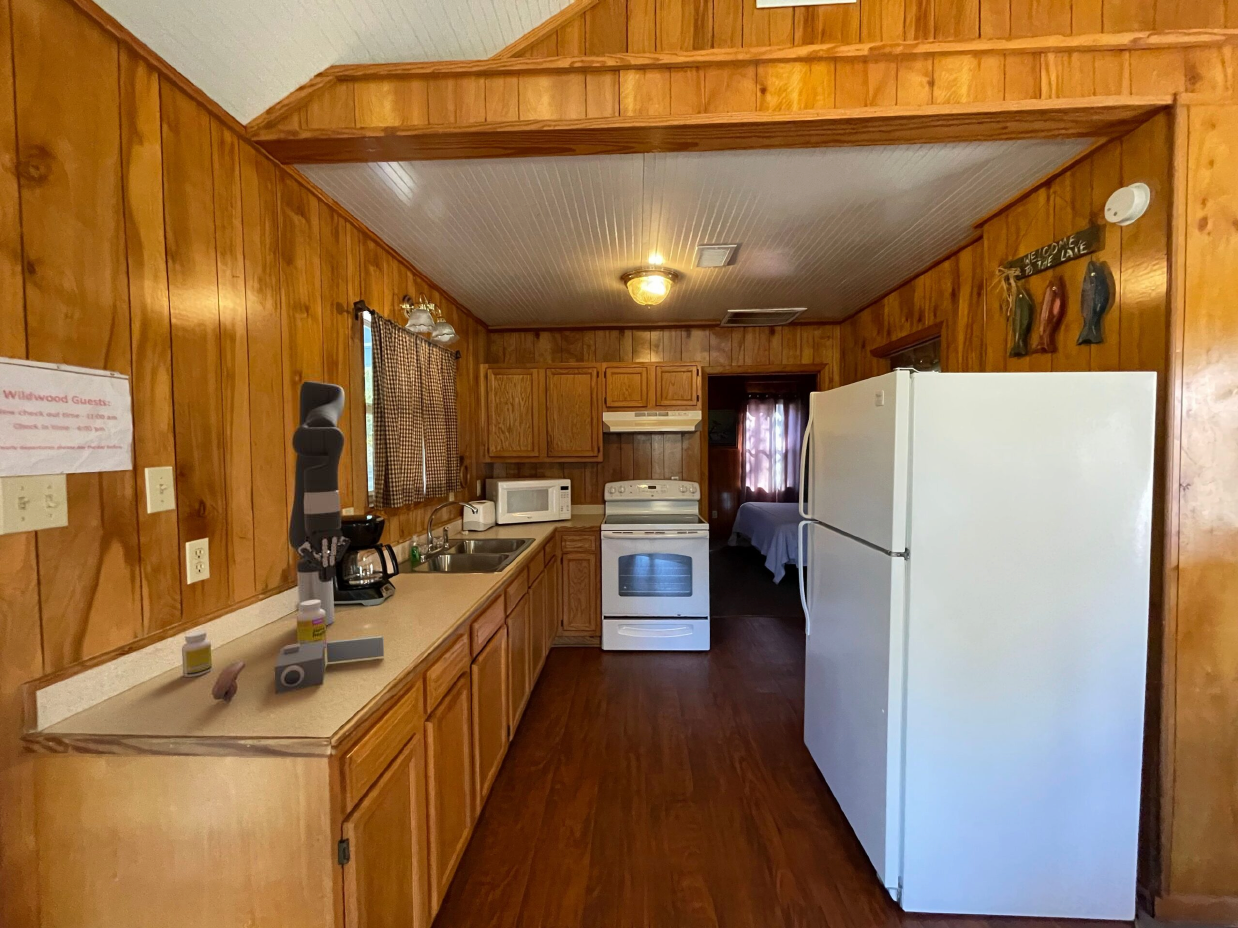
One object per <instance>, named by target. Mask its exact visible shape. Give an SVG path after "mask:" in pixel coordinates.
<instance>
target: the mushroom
mask: <svg viewBox="0 0 1238 928" xmlns="http://www.w3.org/2000/svg"><path fill="white" fill-rule="evenodd" d="M245 667H246V664H245V662H243V661H241V660H240V661H234V662H232V663H230V664H228V665H227V666H226V667H225V668H224V669H223V670H222V671H221V672H220V674H219V675H218V677H217V679H216V681H215V684H214V685H213V687H212V692H211V695H212V697H213V699H215V701H216V700H217V701H220V700H222V701H224V702H225V703H227V704H228V703H230V702H231V701H232V699H233V698H234V696H235V695H236V693H237V690H238V688H239V687H238V682H236V680H237V677H238V676H239V675H240V673H241V672H242V671H243V669H245Z"/></svg>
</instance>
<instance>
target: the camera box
mask: <svg viewBox="0 0 1238 928" xmlns="http://www.w3.org/2000/svg"><path fill="white" fill-rule="evenodd" d="M325 647H326V646H325V645H324V641H318V642H313V643H307V644H301V645H300V643H298V642H297V643H293V644H289V645H285V646H284V647H281V649H280V651H279V654H278V656H277V660H276V662H275V665H274V674H275V675H274V678H275V694H279V693H284V692H289V691H293V690H298V689H303V688H307V687H312V686H317V685H321V684H324V677H325V672H326V671H325V670H326V651H325V650H326V648H325Z"/></svg>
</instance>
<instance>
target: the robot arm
mask: <svg viewBox="0 0 1238 928" xmlns="http://www.w3.org/2000/svg"><path fill="white" fill-rule="evenodd" d="M299 390H300V391H299V405H298V407H299V410H298V411H299V415H298V416H299V417H298V420H299V421H298V422H299V423H298V425H299V426H298V427H297V428H296V430H295V431H294V433H293V436H292V440H291V441H292V443H291V445H292V448H293V451H295V453H296V461H295V475H294V477H295V478H294V491H293V493H294V496H293V502H292V509H291V516H290V520H289V521H290V522H289V528H288V540H289V544H290V546H291V548H292V549H294V550H295V552H296V553H297V554H298V555H299V556H300V557H301V559H300V560H299V561H297V564H296V573H297V576H296V577H297V593H298V595H297V596H298V614H299V613H300V612H302V610H301V603H302V602H305V601H308V600H320V601H321V605H320V609H323V610H324V611H325V618H326V626H328V625H331V624H333V623H334V622H335V604H334V603H335V601H334V584H333V579H334V565H335V563H337V562H340V561H341V559H342V558H343V556H344V555H345V553H346V552H347V549H348V547H349V546H350V544H351V542H352V541H351V539H350V538H346V537H344V536H343V533H342V531H341V527H342V514H341V513H342V511H341V498H340V493H339V480H338V478H339V476H338V475H339V465H340V460H341V456H342V453H343V449H344V445H345V436H344V434H343V432H342V431H341V429H339V428H337V427H338V421H339V419H340V417H341V416H342V414H343V411H344V406H345V399H346V398H345V390H344V389H343V387H341V385H337V384H333V383H326V382H325V383H324V382H318V381H311V380H310V381H309V380H306V381H304V382H303V383H302V384H301V386H300V389H299Z"/></svg>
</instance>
